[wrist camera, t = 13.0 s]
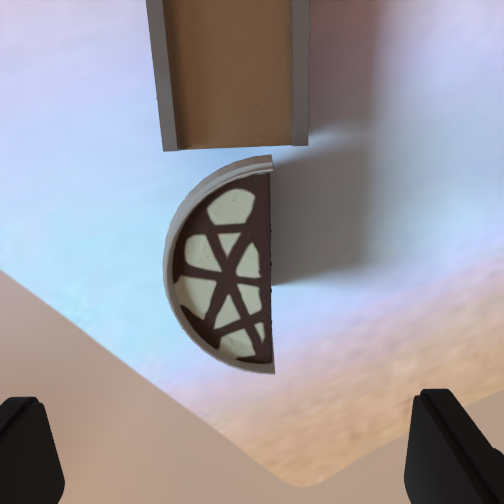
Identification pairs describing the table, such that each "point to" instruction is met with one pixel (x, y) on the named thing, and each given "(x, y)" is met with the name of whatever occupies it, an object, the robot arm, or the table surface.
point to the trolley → (230, 72)
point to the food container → (225, 265)
